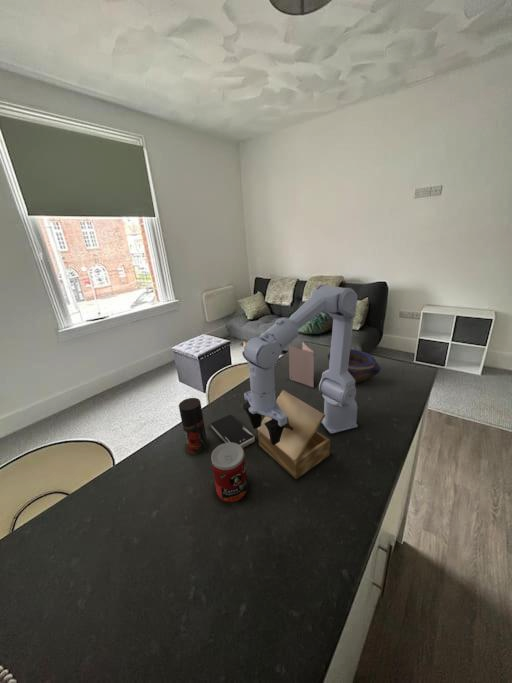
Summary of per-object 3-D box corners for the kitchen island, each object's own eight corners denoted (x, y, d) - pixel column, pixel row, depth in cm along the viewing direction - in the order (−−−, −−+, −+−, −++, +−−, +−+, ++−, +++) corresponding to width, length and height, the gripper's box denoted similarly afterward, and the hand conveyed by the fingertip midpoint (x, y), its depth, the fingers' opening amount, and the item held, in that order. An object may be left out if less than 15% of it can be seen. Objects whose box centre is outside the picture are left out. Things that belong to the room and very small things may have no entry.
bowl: (382, 388, 105) (385, 364, 101) (334, 390, 105) (335, 367, 102) (365, 366, 121) (367, 345, 118) (324, 369, 122) (325, 348, 118)
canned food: (223, 509, 63) (217, 473, 59) (212, 484, 70) (206, 449, 66) (253, 494, 66) (250, 458, 62) (239, 471, 73) (235, 437, 69)
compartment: (290, 426, 88) (290, 412, 86) (329, 455, 76) (330, 439, 74) (259, 445, 81) (257, 430, 79) (296, 479, 69) (295, 463, 67)
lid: (284, 390, 82) (276, 383, 79) (325, 415, 70) (317, 408, 67) (258, 429, 79) (249, 424, 76) (296, 462, 67) (286, 456, 64)
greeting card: (315, 387, 109) (316, 352, 103) (297, 390, 107) (297, 355, 102) (304, 374, 119) (304, 341, 114) (287, 376, 118) (287, 344, 112)
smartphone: (230, 414, 94) (255, 437, 82) (230, 417, 95) (256, 440, 83) (210, 423, 90) (233, 449, 78) (210, 426, 91) (234, 452, 79)
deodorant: (211, 442, 84) (204, 400, 78) (199, 456, 79) (191, 412, 73) (195, 437, 86) (187, 396, 81) (183, 450, 81) (174, 407, 76)
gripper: (232, 382, 68) (237, 427, 73) (268, 408, 57) (271, 459, 62) (255, 372, 72) (258, 416, 77) (293, 395, 61) (294, 444, 66)
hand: (266, 434), depth 70 cm, fingers open, 7 cm apart
